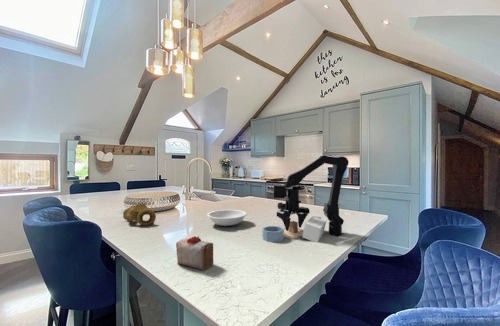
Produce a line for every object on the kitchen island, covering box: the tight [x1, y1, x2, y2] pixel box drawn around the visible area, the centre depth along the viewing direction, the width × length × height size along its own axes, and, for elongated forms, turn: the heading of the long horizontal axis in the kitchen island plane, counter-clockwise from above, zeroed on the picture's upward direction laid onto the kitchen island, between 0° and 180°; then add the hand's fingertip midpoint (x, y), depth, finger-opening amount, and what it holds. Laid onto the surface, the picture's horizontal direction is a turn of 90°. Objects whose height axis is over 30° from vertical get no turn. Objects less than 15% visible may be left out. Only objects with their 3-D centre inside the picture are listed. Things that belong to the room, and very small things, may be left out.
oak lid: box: [283, 220, 304, 239], centre depth 115 cm, size 13×13×6 cm
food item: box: [175, 235, 214, 271], centre depth 81 cm, size 14×8×10 cm, turn 63°
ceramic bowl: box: [261, 225, 285, 243], centre depth 107 cm, size 10×10×5 cm
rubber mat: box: [284, 235, 304, 241], centre depth 115 cm, size 16×16×1 cm
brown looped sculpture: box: [122, 202, 157, 227], centre depth 141 cm, size 18×13×22 cm
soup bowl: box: [206, 209, 248, 227], centre depth 134 cm, size 24×24×7 cm
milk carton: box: [302, 216, 327, 243], centre depth 111 cm, size 7×7×19 cm
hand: (293, 229), depth 115 cm, fingers open, 9 cm apart
